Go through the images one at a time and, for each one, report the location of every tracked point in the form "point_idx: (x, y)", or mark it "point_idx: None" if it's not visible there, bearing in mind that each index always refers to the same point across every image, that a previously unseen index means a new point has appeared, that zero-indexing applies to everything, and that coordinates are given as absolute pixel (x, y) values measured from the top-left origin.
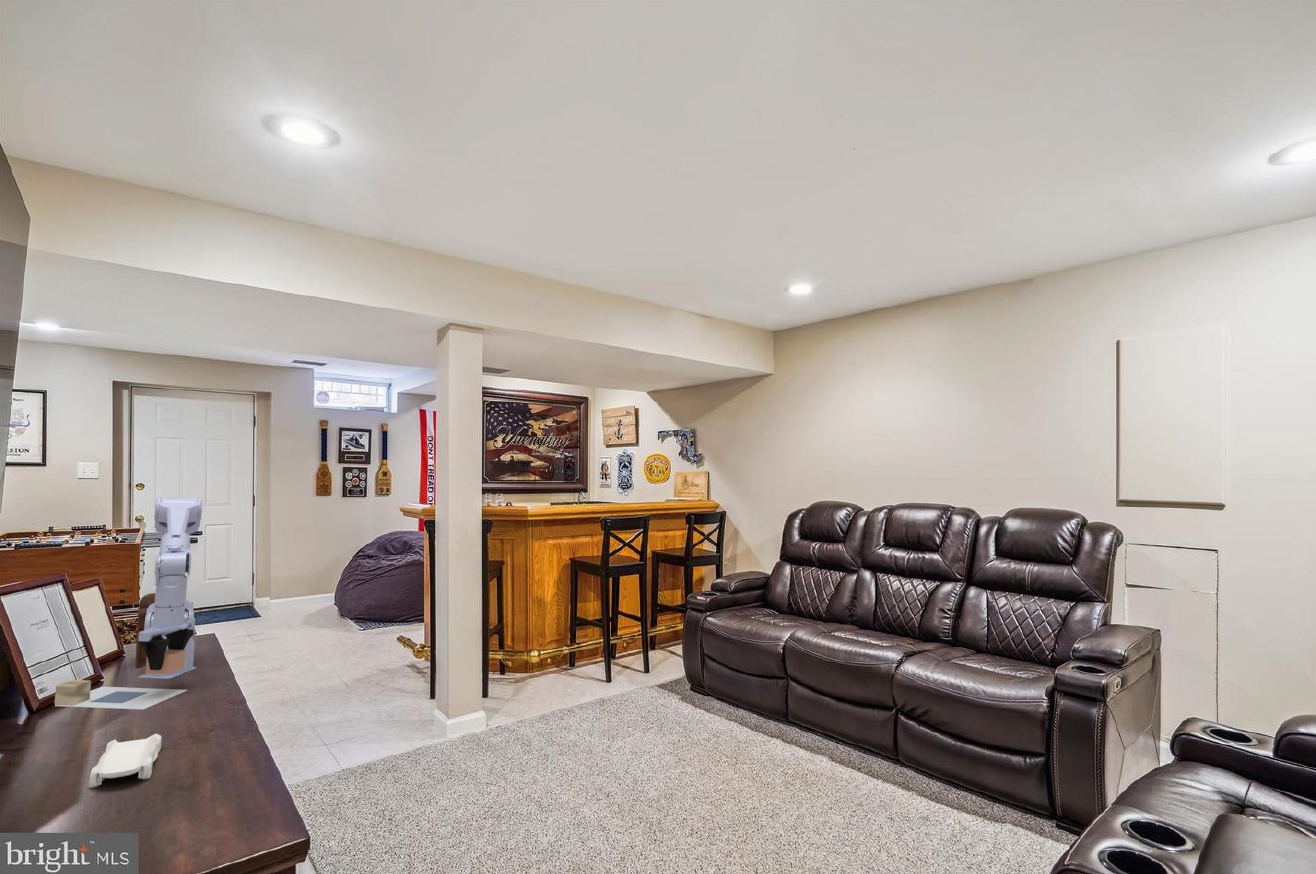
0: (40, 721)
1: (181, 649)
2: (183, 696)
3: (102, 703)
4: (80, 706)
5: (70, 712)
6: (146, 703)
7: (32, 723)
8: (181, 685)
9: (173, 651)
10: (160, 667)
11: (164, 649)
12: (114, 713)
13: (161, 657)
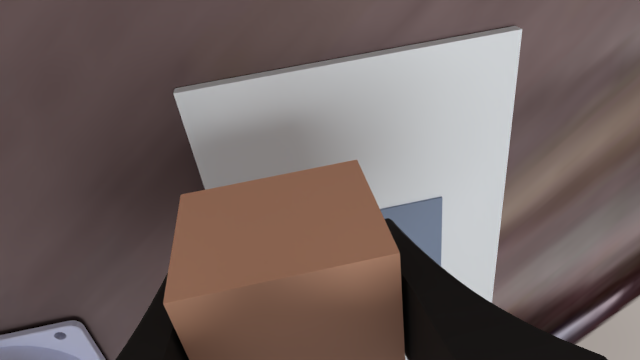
0: (605, 270)
1: (172, 338)
2: (242, 45)
3: (452, 255)
4: (489, 286)
5: (519, 274)
6: (433, 97)
7: (622, 272)
8: (99, 216)
9: (252, 338)
10: (390, 226)
11: (462, 323)
12: (532, 132)
13: (438, 272)
